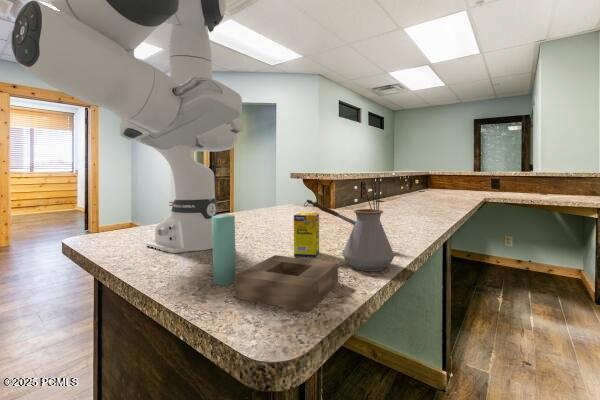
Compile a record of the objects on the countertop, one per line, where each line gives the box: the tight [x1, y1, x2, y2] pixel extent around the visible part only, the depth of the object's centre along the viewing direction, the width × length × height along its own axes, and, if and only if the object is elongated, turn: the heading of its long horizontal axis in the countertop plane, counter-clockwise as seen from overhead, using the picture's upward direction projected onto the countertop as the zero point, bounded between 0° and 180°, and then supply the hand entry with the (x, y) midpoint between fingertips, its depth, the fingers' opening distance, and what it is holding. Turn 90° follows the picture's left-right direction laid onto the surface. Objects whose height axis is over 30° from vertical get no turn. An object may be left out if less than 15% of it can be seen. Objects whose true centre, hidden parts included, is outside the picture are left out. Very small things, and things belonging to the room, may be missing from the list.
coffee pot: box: [303, 199, 395, 272], centre depth 72 cm, size 21×12×15 cm, turn 66°
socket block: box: [234, 254, 339, 313], centre depth 56 cm, size 14×14×4 cm
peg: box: [212, 214, 237, 286], centre depth 61 cm, size 4×4×13 cm
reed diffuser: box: [361, 177, 381, 210], centre depth 85 cm, size 10×7×20 cm
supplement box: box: [293, 211, 320, 259], centre depth 81 cm, size 6×6×11 cm
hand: (221, 137), depth 58 cm, fingers open, 8 cm apart
